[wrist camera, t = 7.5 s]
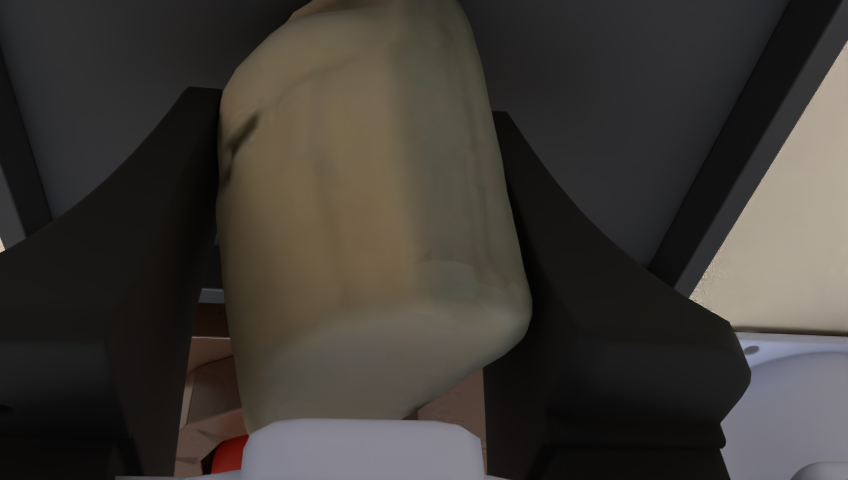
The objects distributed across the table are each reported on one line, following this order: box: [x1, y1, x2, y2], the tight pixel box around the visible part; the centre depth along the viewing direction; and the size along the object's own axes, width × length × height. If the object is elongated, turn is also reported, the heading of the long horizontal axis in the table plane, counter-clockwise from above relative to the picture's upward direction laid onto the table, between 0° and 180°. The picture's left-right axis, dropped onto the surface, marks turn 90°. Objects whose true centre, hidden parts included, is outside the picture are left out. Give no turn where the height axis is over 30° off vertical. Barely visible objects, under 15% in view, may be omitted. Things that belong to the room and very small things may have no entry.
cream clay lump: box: [216, 0, 533, 436], centre depth 14 cm, size 6×5×8 cm
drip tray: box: [0, 0, 848, 304], centre depth 16 cm, size 17×12×2 cm
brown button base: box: [174, 302, 487, 477], centre depth 23 cm, size 11×8×4 cm
